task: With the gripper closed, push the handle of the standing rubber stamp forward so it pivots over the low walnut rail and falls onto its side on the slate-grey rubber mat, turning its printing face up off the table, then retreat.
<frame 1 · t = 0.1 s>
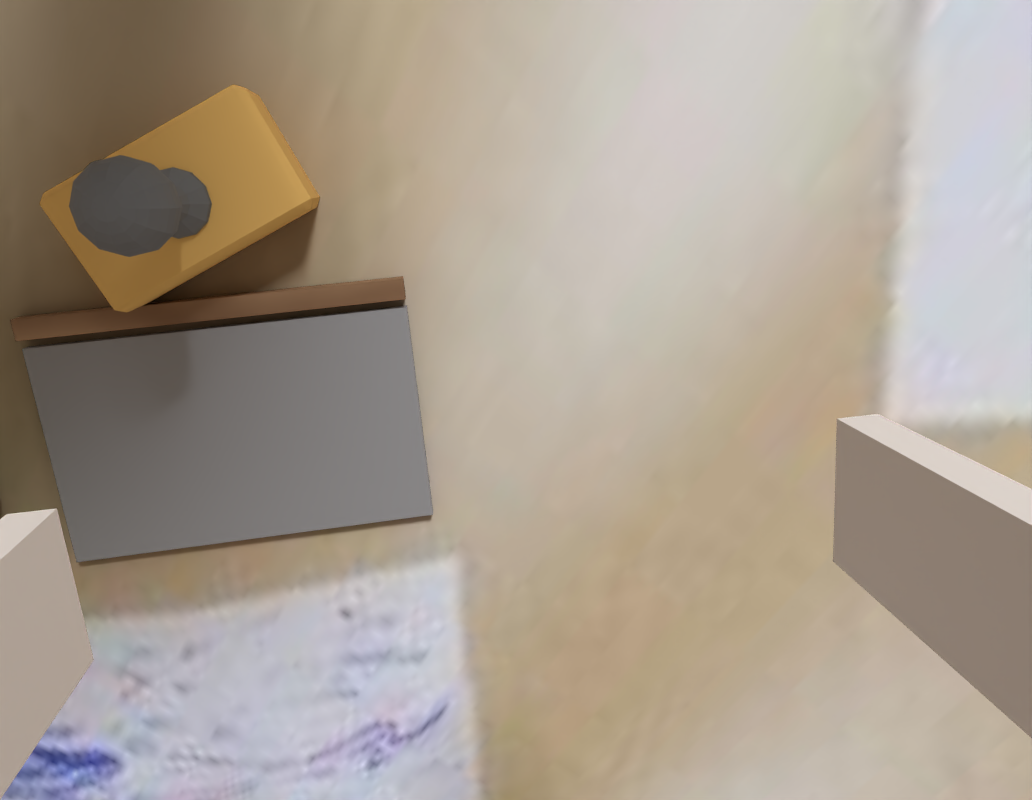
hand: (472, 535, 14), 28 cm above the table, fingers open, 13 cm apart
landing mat: (241, 433, 41), on the table
rubber stamp: (199, 200, 38), on the table
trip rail: (217, 306, 39), on the table
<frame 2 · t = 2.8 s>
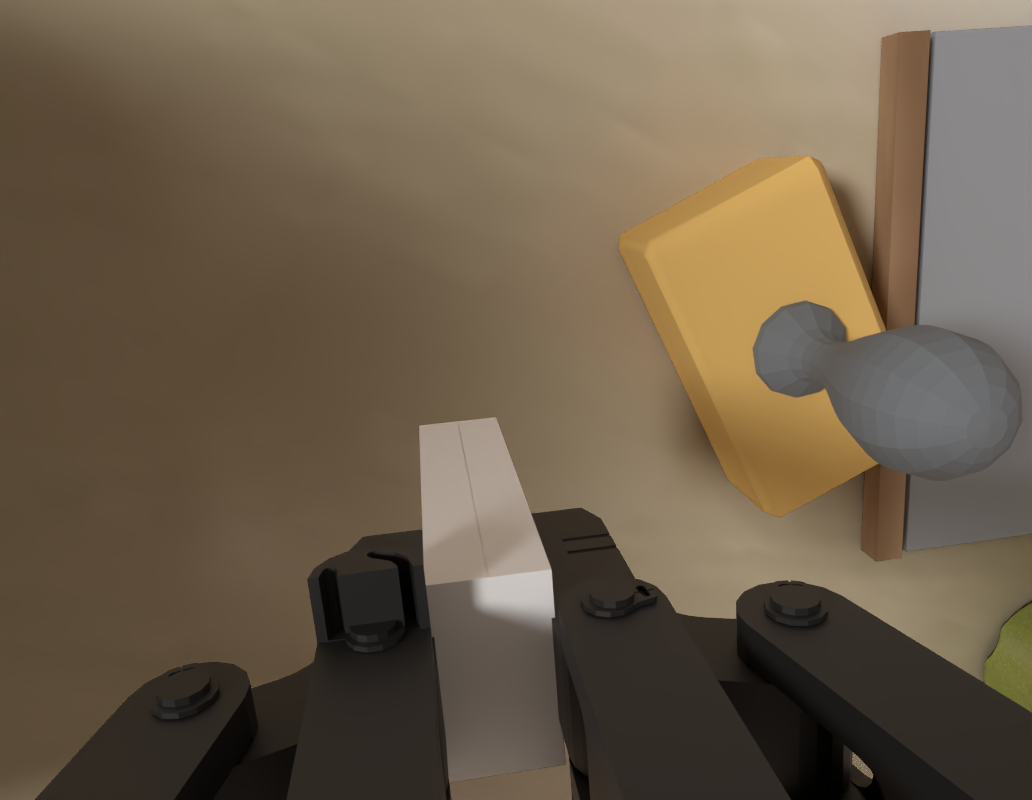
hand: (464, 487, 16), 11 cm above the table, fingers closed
rubber stamp: (743, 326, 28), on the table
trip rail: (884, 313, 29), on the table
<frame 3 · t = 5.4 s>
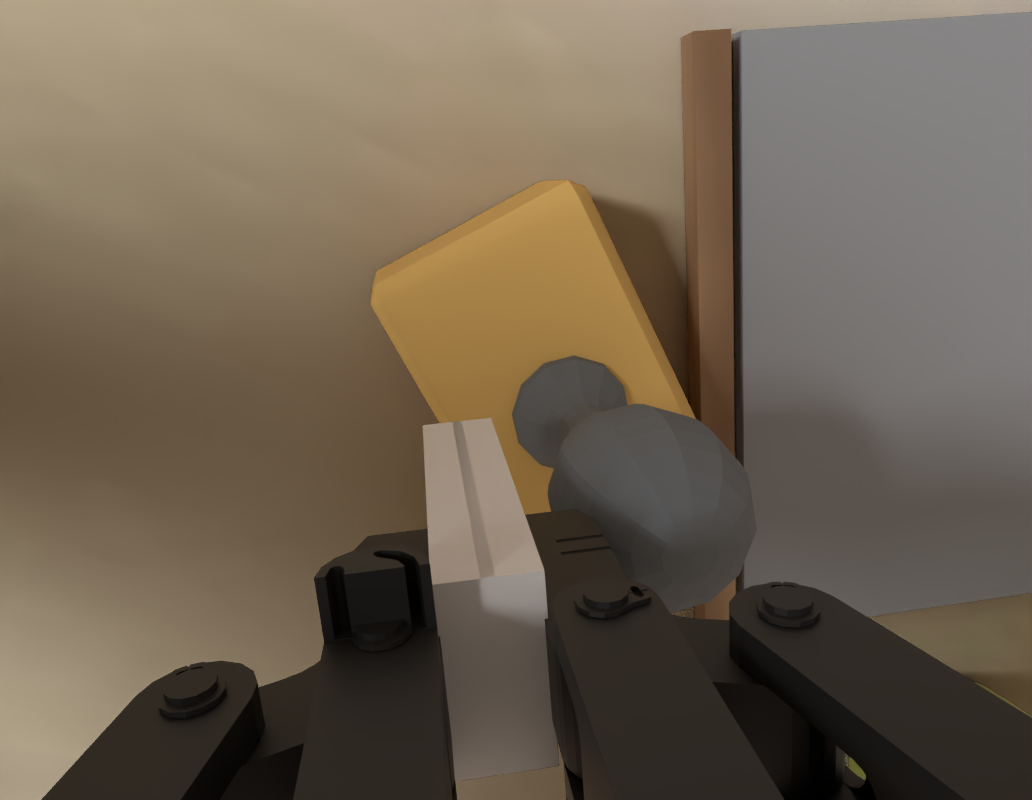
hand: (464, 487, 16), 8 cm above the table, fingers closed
plant pot: (923, 742, 29), on the table
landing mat: (907, 340, 25), on the table
rubber stamp: (538, 378, 24), on the table, touching gripper, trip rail
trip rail: (704, 362, 24), on the table
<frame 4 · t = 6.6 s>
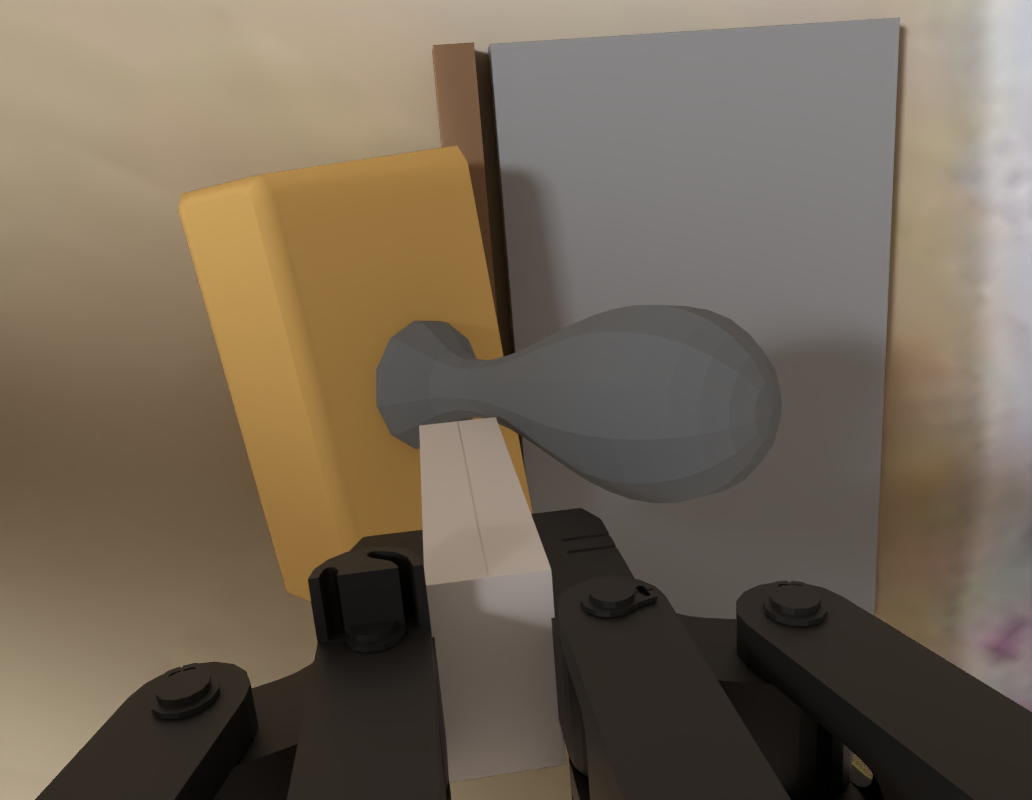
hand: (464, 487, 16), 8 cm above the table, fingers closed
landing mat: (699, 363, 24), on the table
rubber stamp: (326, 375, 21), point 2 cm above the table, touching gripper, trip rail
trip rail: (482, 386, 23), on the table
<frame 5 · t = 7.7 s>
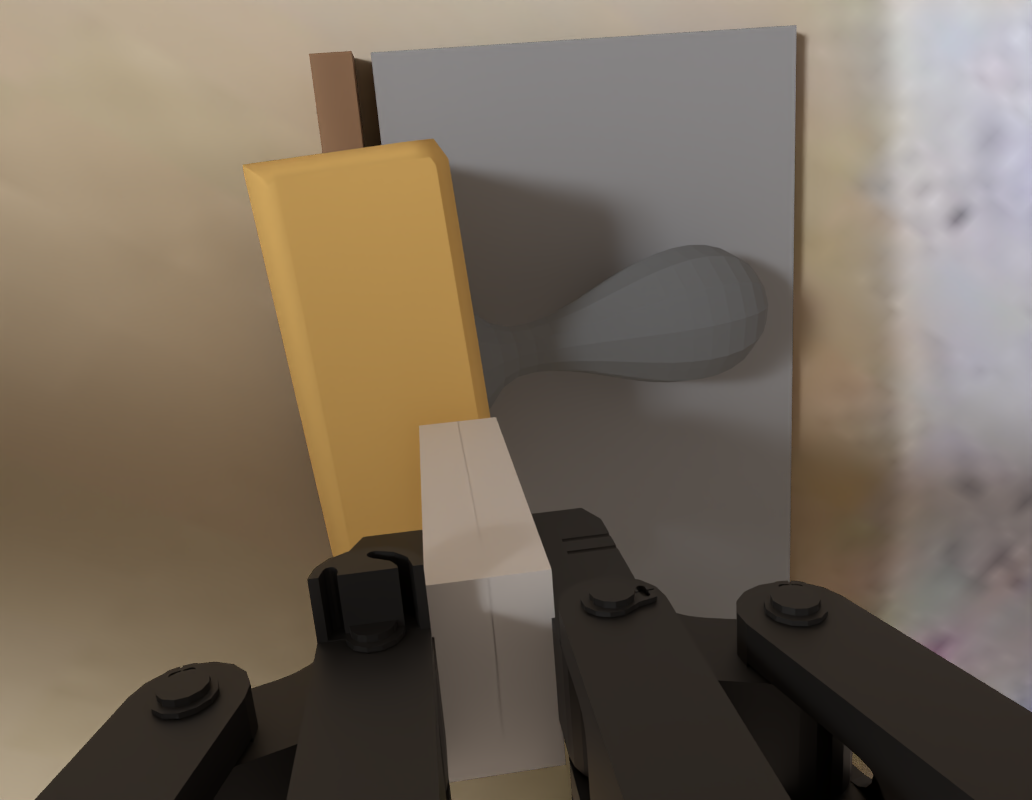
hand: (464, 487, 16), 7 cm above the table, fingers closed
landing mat: (601, 377, 24), on the table
rubber stamp: (287, 399, 18), point 4 cm above the table, touching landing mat, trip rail
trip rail: (377, 401, 23), on the table
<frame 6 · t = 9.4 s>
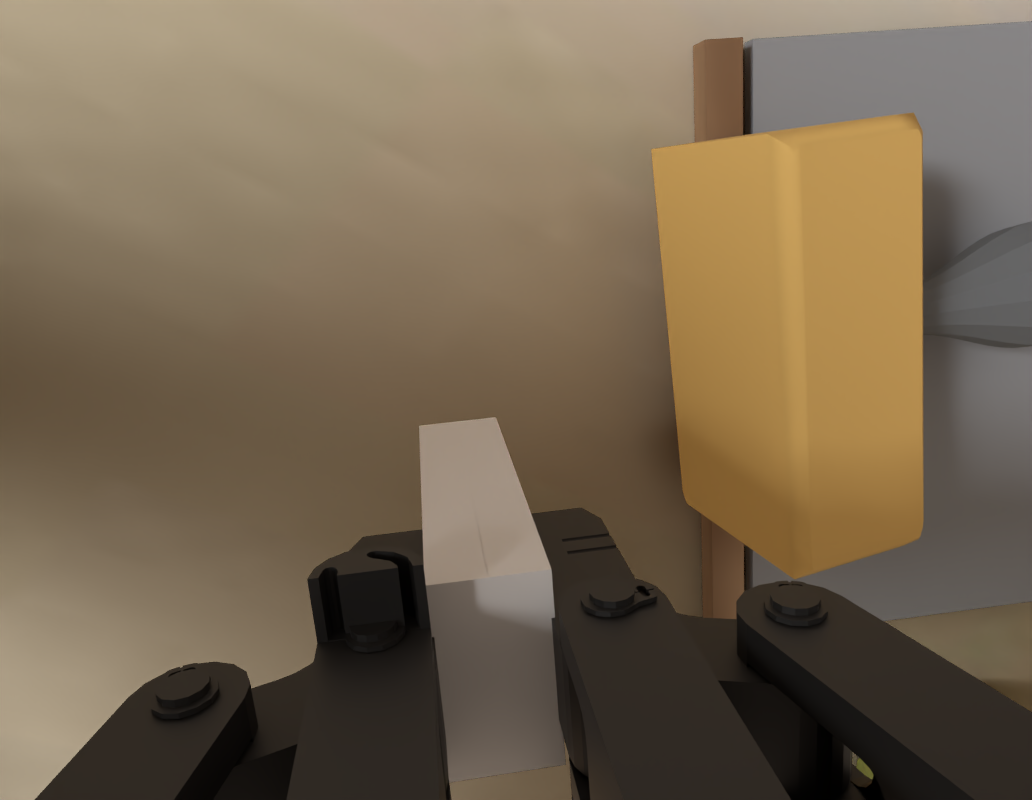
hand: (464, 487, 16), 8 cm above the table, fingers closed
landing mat: (917, 346, 25), on the table
rubber stamp: (710, 355, 20), point 4 cm above the table, touching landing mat, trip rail
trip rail: (714, 366, 24), on the table
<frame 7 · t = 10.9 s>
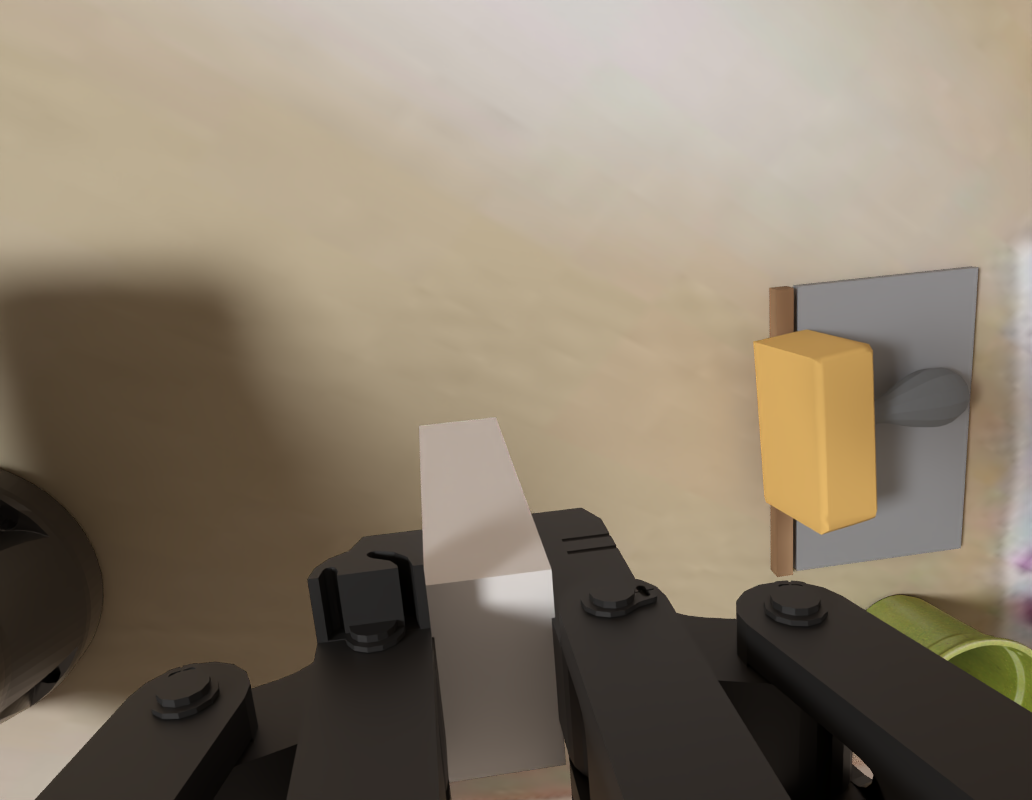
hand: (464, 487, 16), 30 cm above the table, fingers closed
plant pot: (892, 632, 54), on the table
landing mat: (878, 422, 50), on the table
rubber stamp: (782, 437, 45), point 4 cm above the table, touching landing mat, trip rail
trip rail: (778, 434, 50), on the table
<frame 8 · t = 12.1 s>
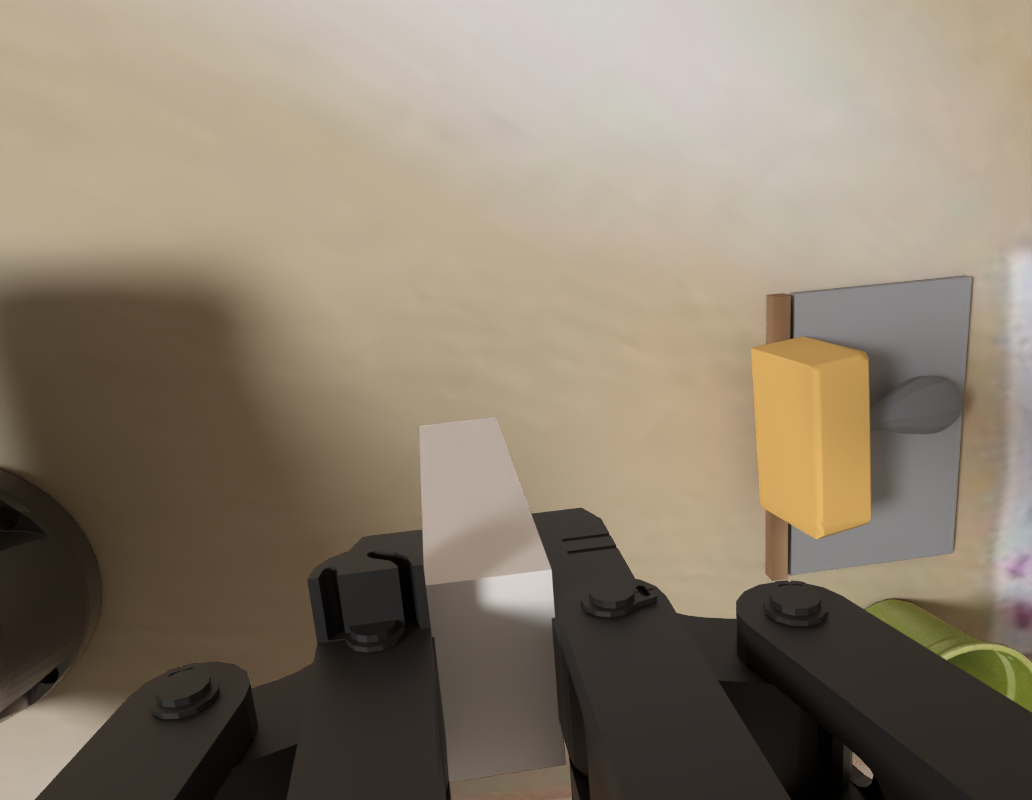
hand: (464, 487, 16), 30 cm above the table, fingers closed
plant pot: (884, 636, 55), on the table
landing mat: (873, 428, 51), on the table
rubber stamp: (779, 442, 45), point 4 cm above the table, touching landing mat, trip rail
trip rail: (773, 440, 50), on the table
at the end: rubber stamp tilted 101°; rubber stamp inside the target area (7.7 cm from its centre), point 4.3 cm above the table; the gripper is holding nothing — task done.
